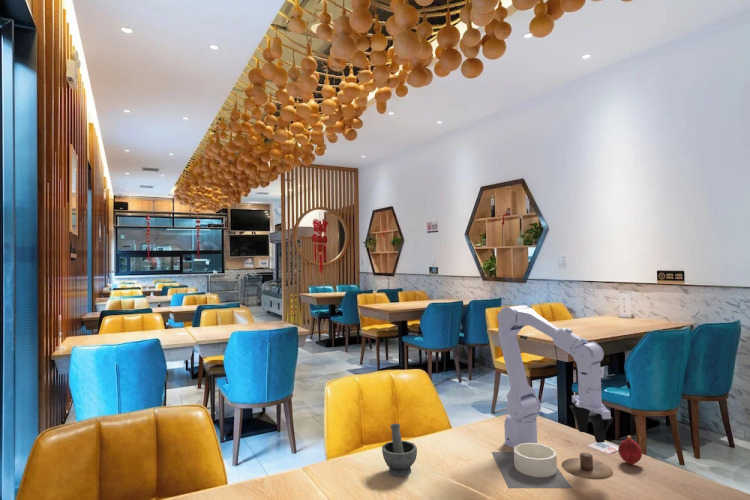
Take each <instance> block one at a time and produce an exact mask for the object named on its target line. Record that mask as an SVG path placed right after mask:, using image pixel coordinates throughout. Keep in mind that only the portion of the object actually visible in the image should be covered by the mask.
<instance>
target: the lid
mask: <svg viewBox="0 0 750 500" xmlns="http://www.w3.org/2000/svg"><path fill="white" fill-rule="evenodd" d="M593 457H594V456H593V454H592V453H589V452H580V453H579V457H572V458H568V459H565V460H564V461H562V462H561V468H562V469H563V470H564V471H565V472H566V473H568V474H570V475H572V476H574V477H578V478H581V479H587V480H606V479H609V478H611V477H612V476H613V475H614V470H613V469H612V467H610V466H609V465H607V463H604V462H602V461H598V460H596V459H594V458H593Z"/></svg>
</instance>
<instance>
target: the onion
mask: <svg viewBox="0 0 750 500" xmlns="http://www.w3.org/2000/svg"><path fill="white" fill-rule="evenodd" d="M618 454H619V456H620V458H621V459H622V461H624V462H625V463H627V464H628V465H631V466H632V465H635V464H636V463H639V462H640V460H641V459H642V457H643V451H642V448H641V446H640V445H639V444H638V442H636V441H635V440H634V439H632V436H631V435H627V437H626V439H623V440H622V441H621V442H620V443H619V446H618Z"/></svg>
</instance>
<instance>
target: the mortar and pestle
mask: <svg viewBox="0 0 750 500" xmlns="http://www.w3.org/2000/svg"><path fill="white" fill-rule="evenodd" d="M400 428H401V425H400V423H392V424H390V429H391V438H392V439H391V441H389V442H385V444H383V445H382V447H381V449H382V451H381V453H382V457H383V460H384V462H385V463H386V466H387V467H388V468H389V469H388V472H389V475H390V474H391V476H392V477H395V478H403V477H407V476H409V475H410V474H411V473H412V466H413V465H414V463H415V461H416V460H417V455H418V447H417V446H416V443H413V442H410V441H407V440H402V436H401V435H402V434H401V430H400Z"/></svg>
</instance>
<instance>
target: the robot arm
mask: <svg viewBox="0 0 750 500" xmlns="http://www.w3.org/2000/svg"><path fill="white" fill-rule="evenodd" d="M496 318H497V322H498V328H497V329H498V330H497V334H498V340H499V343H500V347H501V352H502V355H503V360H504V364H505V369H506V373H507V376H508V382H509V386H510V388H509V391H508V392H507V394H506V399H507V404H506V409H507V413H508V414H507V416H506V417H505V420H504V442H503V445H505V446H507V447H511V448H513V449H514V446H517V445H519V444H522V443H537V444H540V443H538V428H537V427H538V422H537V417H538V414H539V412H540V411H541V408H542V405H541V401H540V399H539V398H538V396H537V394H536V391H535V389H534V388H533V387H532V386H530V385H529V382H528V378H527V373H526V370H525V369H526V368H525V366H524V362H523V358H522V354H521V350H520V346H519V341H518V337H517V336H518V334H519V333H520V331H521V330H522V329H523V328H524V327H526V326H530V327H532V328H534V329H536V330H538V331H539V332H541V333H543V334H545V335H546V336H548V337H549V338H551V339H552V342H553V344H554V345H555V346H556V347H558V348H560V349H561V350H562V351H564V352H566V353H567V354H569V355H570V356H571V357H573V360H574V362H575V364H576V369H577V383H578V384H577V386H578V387H577V388H578V389H577V390H578V392H577V393H578V395H576V394H575V395H571V403H573V404H570V405H569V408H570V410H571V411H572V412H571V413H572V414H573V417H574V419H575V421H576V422H575V423H576V426H577V429H578V431H579V432H580V433H587V432H588V430H589V429H588V428H589V419H590V422H591V424H592V427H593V428H592V429H593V434H594V440H595V443H597V444H600V443H605V440H606V437H607V433H608V431H609V428H610V426H611V424H612V423H613V421H614V417H612V416H611V415H612V414H611V410H609V409H607V407H606V406H605V405H604V404H603V402H602V401H603V400H602V380H601V379H602V377H601V376H602V374H601V372H602V371H601V362H602V361H603V360H604V356H605V352H604V350H603V348H602V347H601V345H599V344H598V342H595V341H588V339H586V338H585V337H581V336H579V335H577V334H576V333H574V332H573V329H571V328H570V327H568V328H566V327H561V328H559V327H557V326H556V325H555V324H553V323H551V322H550V321H549V320H547V319H546V318H544V317H543V316H541V315H540V314H538V312H537V311H535V309H533V308H531V307H529V306H528V305H526V304H520V305H513V306H504V307H502V308H501V309H500V311H499V312H498V313H497V315H496ZM590 412H592V413H594V414H596V415H590Z"/></svg>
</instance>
